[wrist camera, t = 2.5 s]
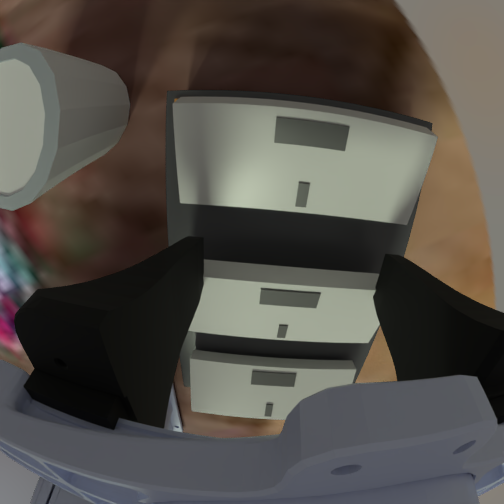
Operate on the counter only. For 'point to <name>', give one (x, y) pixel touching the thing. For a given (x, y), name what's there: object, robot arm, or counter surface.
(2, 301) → the counter surface
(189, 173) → the cabinet drawer
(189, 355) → the filing cabinet
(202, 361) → the pale rectangular block
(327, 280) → the filing cabinet drawer
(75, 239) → the counter surface
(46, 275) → the counter surface
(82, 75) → the shot glass
